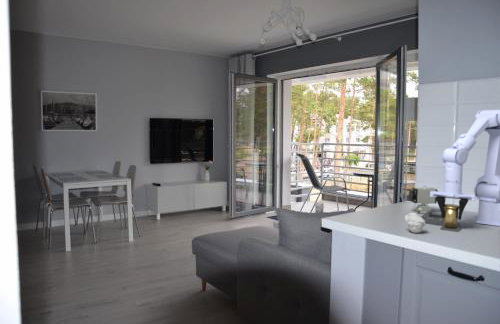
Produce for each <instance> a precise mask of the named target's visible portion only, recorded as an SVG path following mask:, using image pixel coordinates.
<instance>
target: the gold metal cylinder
mask: <svg viewBox="0 0 500 324" xmlns="http://www.w3.org/2000/svg"><path fill="white" fill-rule="evenodd" d="M444 207H445V214H444V226H446V227H450V228H456V227H458V221H459V220H458V215H459V204H453V203H445V205H444Z"/></svg>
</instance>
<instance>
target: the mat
mask: <svg viewBox="0 0 500 324" xmlns="http://www.w3.org/2000/svg"><path fill="white" fill-rule="evenodd" d="M439 229H440V230H442V231H450V232H457V233H459V232H460V231H461V230H462V227H461V226H459V227H458V226H457V227H456V228H450V227H446V226H444V225H443V226H440V228H439Z"/></svg>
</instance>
